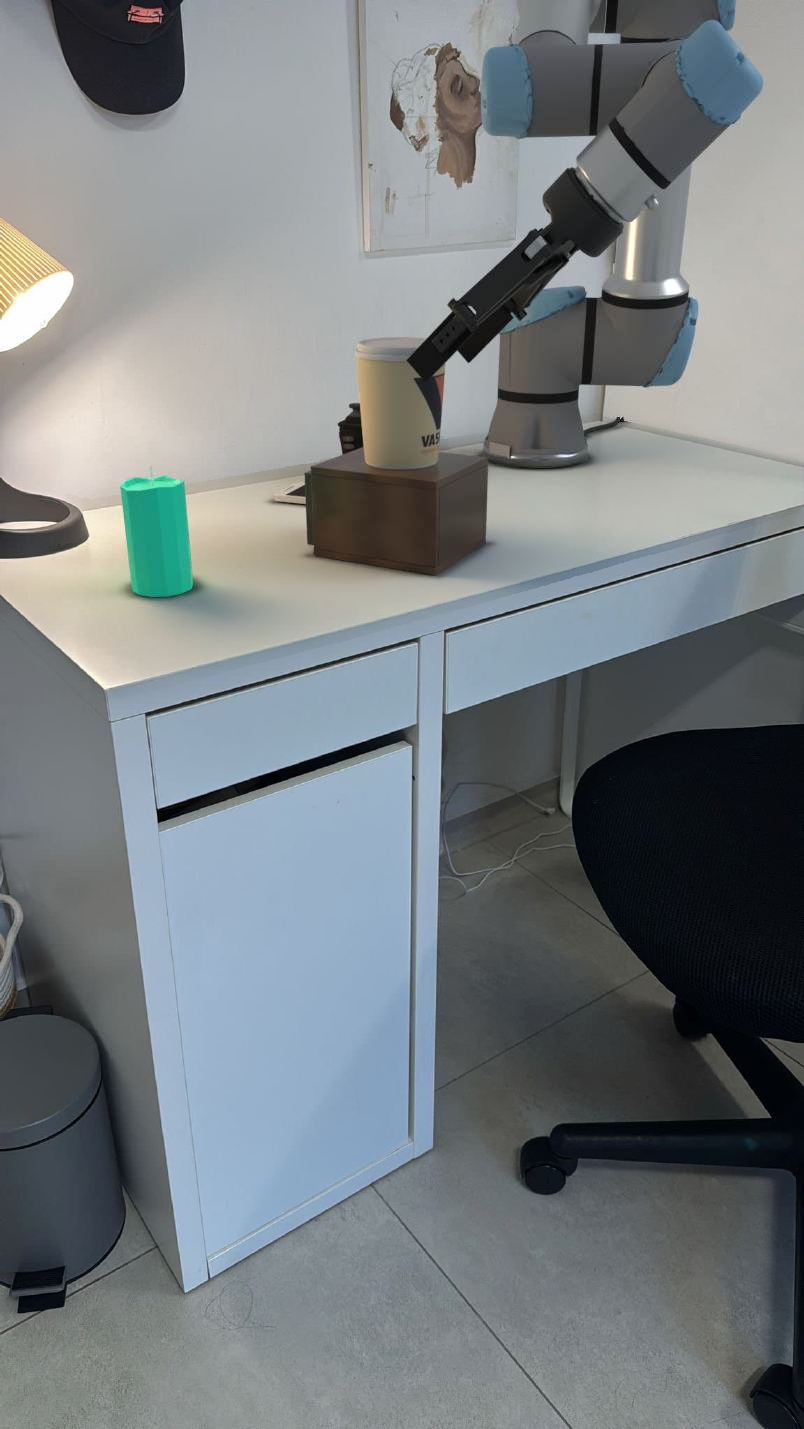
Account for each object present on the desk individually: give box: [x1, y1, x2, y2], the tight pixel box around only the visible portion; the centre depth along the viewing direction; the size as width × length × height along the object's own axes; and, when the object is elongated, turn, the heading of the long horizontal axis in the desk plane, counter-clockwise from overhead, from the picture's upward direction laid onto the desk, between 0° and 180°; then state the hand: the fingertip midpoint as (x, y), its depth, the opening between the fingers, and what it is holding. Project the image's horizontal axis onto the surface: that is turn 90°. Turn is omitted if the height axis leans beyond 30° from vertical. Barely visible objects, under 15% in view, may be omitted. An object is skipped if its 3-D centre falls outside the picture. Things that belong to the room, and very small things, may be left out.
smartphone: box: [273, 481, 306, 505], centre depth 138 cm, size 7×16×1 cm, turn 69°
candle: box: [119, 465, 194, 598], centre depth 105 cm, size 6×6×12 cm
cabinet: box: [310, 447, 489, 576], centre depth 117 cm, size 15×13×10 cm
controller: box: [337, 402, 364, 455], centre depth 149 cm, size 4×12×10 cm, turn 155°
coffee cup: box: [354, 336, 446, 470], centre depth 112 cm, size 9×9×12 cm
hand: (439, 361), depth 109 cm, fingers open, 13 cm apart
